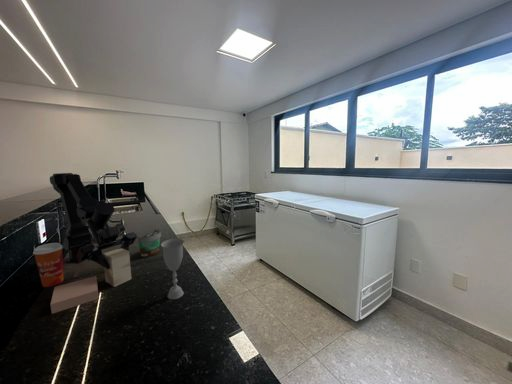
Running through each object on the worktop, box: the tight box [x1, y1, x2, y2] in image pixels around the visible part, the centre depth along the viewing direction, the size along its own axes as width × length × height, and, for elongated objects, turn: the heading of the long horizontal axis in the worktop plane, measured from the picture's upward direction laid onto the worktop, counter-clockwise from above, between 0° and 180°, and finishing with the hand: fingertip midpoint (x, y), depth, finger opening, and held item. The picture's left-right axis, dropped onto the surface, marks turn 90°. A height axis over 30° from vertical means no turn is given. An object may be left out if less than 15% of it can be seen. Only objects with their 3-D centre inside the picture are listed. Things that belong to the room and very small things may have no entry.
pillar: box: [102, 247, 132, 288], centre depth 78 cm, size 6×6×11 cm
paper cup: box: [32, 242, 64, 288], centre depth 77 cm, size 8×8×14 cm
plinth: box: [50, 275, 99, 314], centre depth 69 cm, size 11×11×3 cm
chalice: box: [160, 238, 185, 300], centre depth 70 cm, size 7×7×18 cm
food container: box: [137, 229, 162, 259], centre depth 101 cm, size 12×6×10 cm, turn 168°
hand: (119, 264), depth 77 cm, fingers open, 7 cm apart
